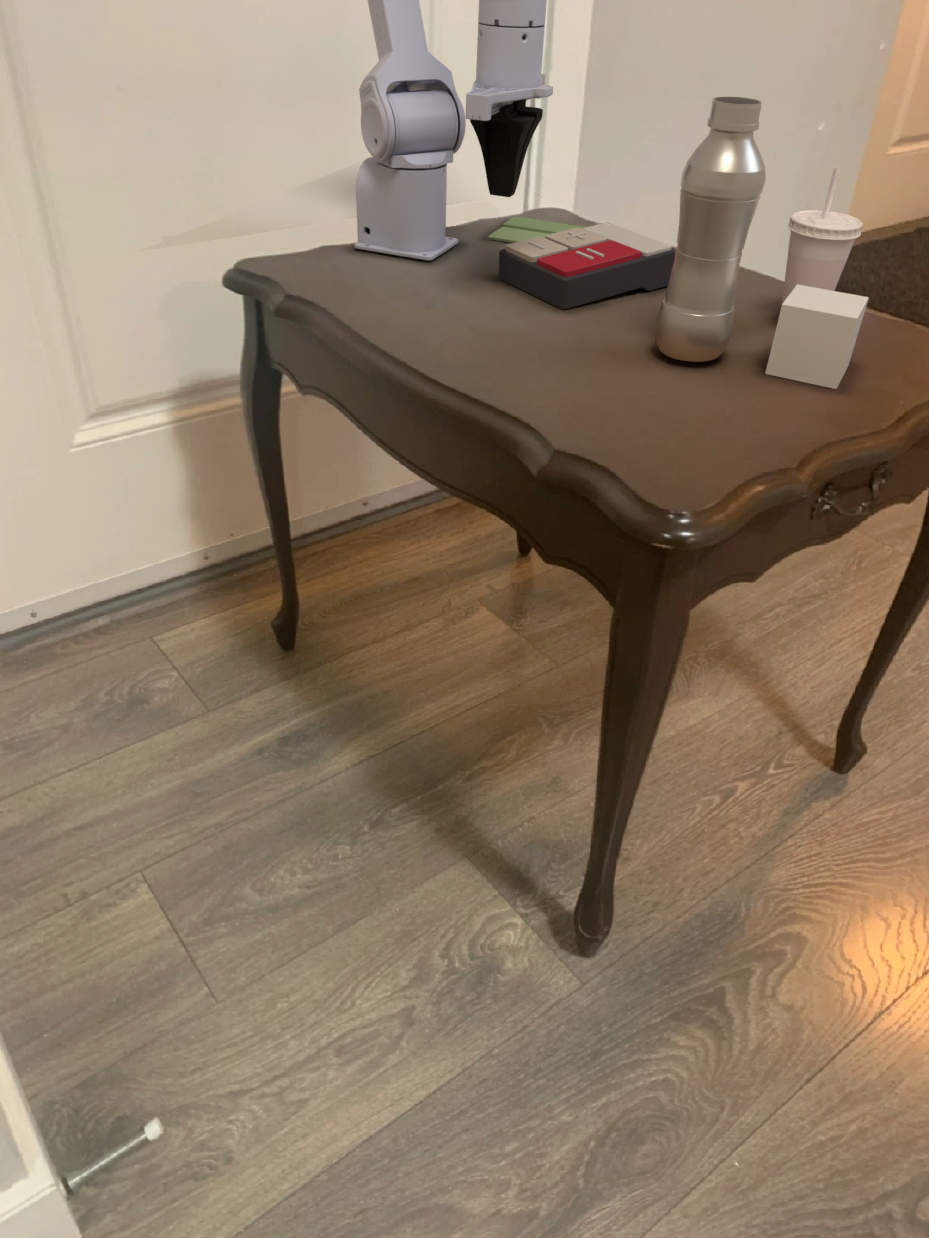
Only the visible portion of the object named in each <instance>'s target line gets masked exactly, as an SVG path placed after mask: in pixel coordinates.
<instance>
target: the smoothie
mask: <svg viewBox="0 0 929 1238" xmlns="http://www.w3.org/2000/svg"><path fill="white" fill-rule="evenodd" d="M841 169H842V167H839V166H834V167H833V170H832V174H831V178H830V181H829V186H828V189H827V194H826V198H825V200H824V201H825V202H824V206H823V209H822V210H818V209H808V210H807V209H806V210H799V211H795V212H793V213H791V215H790V218H789V221H788V224H787V228H788V230H790V232H789V233H790V234H789V241H788V248H787V257H786V258H787V259H786V265H785V266H786V267H785V274H784V275H785V276H784V282H783V283H784V284H783V291H782V301H781V305H782V304H783V302H784V301H785V300H786V299H787V297H788V296H789V295H790V293H791V292H792V291H793V289H794V288H795V287H796V286H797V284H798V285H804V286H809V287H815V288H820V289H826V290H831V291H836V288H837V286H838V284H839V281H840V279H841V276H842V273H843V270H844V269H845V266H846V263H847V261H848V259H849V256H850V254H851V251H852V249H853V246H854V243H855V241H856V239H858V238H860V237H861V236H862V229H863V227H864V223H863V222H862V221H861V220H860V219H859V218H857V217H855V216H852V215H850V214H847V213H846V214H845V213H841V212H836V211H831V207H832V204H833V200H834V196H835V191H836V188H837V184H838V180H839V177H840V172H841Z"/></svg>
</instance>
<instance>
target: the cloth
mask: <svg viewBox="0 0 929 1238" xmlns="http://www.w3.org/2000/svg"><path fill="white" fill-rule="evenodd" d="M585 227H586V226H585V225H577V224H569V223H563V222H557V221H550V220H543V219H536V218H528V217H523V216H516V215H514V216H512V217H510V218H509V219H508V220H506V221H504V222H503V223H502V225H501V227H499V228H498V229H496V230H495V231H493V232H492V233H491V234H488V235H487V240H492V241H496V242H497V241H498V242H504V243H509V244H511V243H515V242H519V241H523V240H527V239H532V238H536V237H543V238H545V236H546V235H548V234H552V233H557V232H561V231H565V230H569V229H573V228H582V229H583V228H585Z"/></svg>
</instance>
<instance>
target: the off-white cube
mask: <svg viewBox="0 0 929 1238" xmlns="http://www.w3.org/2000/svg"><path fill="white" fill-rule="evenodd" d="M869 299H870V297H869V296H863V295H859V294H852V293H847V292H841V291H837V290H835V291H831V290H826V289H820V288H815V287H809V286H804V285H798V284H797V286H796V287H795V288H794V289H793V291H792V292H791V293H790V295H789V296H788V297H787V299H786V300H785V301H784V302H783V304H782V303H781V307H780V312H779V315H778V318H777V322H776V323H777V324H776V328H775V332H774V334H773V335H774V336H773V340H772V345H771V349H770V352H769V356H768V360H767V364H766V369H765V374H766V375H768V376H774V377H778V378H782V379H788V380H792V381H796V382H802V383H805V384H811V385H815V386H820V387H824V388H829V389H834V390H838V388H839V385H840V384H841V381H842V379H843V378H844V375H845V374H846V371H847V369H848V367H849V365H850V362H851V360H852V359H851V358H852V355H853V352H854V349H855V346H856V342H857V339H858V335H859V332H860V329H861V325H862V323H863V319H864V317H865V313H866V309H867V306H868V302H869Z"/></svg>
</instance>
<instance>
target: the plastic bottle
mask: <svg viewBox="0 0 929 1238" xmlns="http://www.w3.org/2000/svg"><path fill="white" fill-rule="evenodd" d="M710 105H711V106H710V112H709V117H708V118H707V121H706V126H707V127H708V128H709V132H708V135H707V136H706V137H705V138H704V139H703V140H702V141H701V143H700V144H698V146H697V147H696V148H695V150H694V151H693V152H692V153H691V154H690V157H688V159H687V161H686V163H685V165H684V168H683V170H682V172H681V178H680V190H679V191H680V192H679V195H680V196H679V217H678V218H679V219H678V227H677V237H676V247H675V249H676V252H675V260H674V264H673V268H672V272H671V275H670V279H669V283H668V286H666V287H667V288H666V292H665V295H664V298H663V300H662V302H661V305H660V308H659V310H658V314H657V316H656V317H657V318H656V320H655V324H654V327H655V329H654V332H655V333H654V334H655V335H654V340H655V344H656V346H657V348H658V350H659V351H660V352H661V353H662V354H663V355H665V356H666V357H669V358H671V359H674V360H677V361H678V360H679V361H683V362H693V363H700V362H702V363H703V362H710V361H713V360H716V359H717V358H719V357H720V356H721V355H722V354H723V353H724V352H725V351H726V350H727V348H728V345H729V343H730V341H731V338H732V336H733V332H734V323H735V300H736V299H735V298H736V290H737V284H738V276H739V269H740V264H741V260H742V256H743V253H742V252H743V250H744V249H745V246H746V241H747V237H748V234H749V230H750V227H751V224H752V222H753V219H754V216H755V213H756V211H757V208H758V205H759V202H760V199H761V194H762V193H763V190H764V187H765V184H766V165H765V163H764V159H763V157H762V154H761V151H760V150H759V147H758V144H757V143H756V141H755V139H754V132H755V131H758V130H759V127H760V114H761V109H762V100H758V99H756V98H749V97H740V96H716V97H713V98H712V101H711V104H710Z"/></svg>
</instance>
